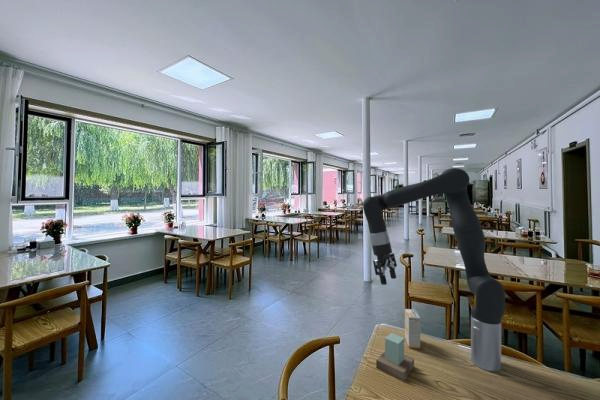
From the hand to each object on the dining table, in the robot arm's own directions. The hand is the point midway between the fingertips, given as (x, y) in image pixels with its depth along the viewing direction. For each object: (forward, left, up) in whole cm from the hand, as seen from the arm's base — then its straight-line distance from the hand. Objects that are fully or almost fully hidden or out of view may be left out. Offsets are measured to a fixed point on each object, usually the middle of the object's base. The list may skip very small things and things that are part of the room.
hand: (389, 281), depth 106 cm
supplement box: (-9, +6, -28) cm, 30 cm away
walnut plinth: (+11, +7, -28) cm, 31 cm away
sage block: (+11, +7, -25) cm, 28 cm away
